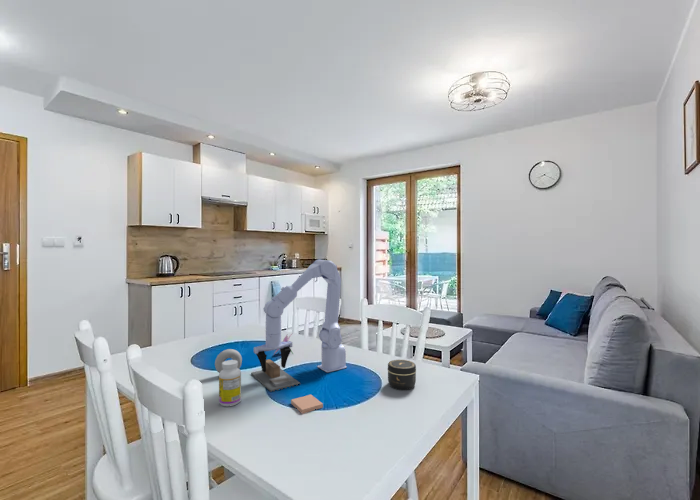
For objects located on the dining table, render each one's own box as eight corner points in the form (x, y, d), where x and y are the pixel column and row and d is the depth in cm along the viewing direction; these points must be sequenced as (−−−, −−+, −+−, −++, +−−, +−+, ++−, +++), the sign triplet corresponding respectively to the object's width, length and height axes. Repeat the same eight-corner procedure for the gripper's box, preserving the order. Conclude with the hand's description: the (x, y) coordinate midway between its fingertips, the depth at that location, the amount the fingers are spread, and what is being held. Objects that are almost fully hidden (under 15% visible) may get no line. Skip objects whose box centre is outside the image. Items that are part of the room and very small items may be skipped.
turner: (259, 372, 133) (259, 361, 133) (274, 369, 137) (274, 358, 137) (275, 386, 120) (275, 373, 120) (291, 382, 124) (291, 370, 124)
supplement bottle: (222, 398, 113) (222, 358, 113) (243, 397, 113) (243, 358, 113) (216, 407, 106) (216, 366, 106) (238, 406, 107) (238, 365, 106)
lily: (292, 350, 167) (283, 333, 167) (306, 345, 160) (296, 327, 160) (274, 364, 158) (264, 346, 158) (288, 360, 150) (277, 341, 151)
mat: (278, 368, 140) (278, 366, 140) (300, 384, 124) (300, 382, 124) (251, 374, 134) (251, 372, 134) (270, 391, 117) (270, 390, 117)
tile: (310, 394, 113) (322, 403, 106) (310, 399, 113) (322, 408, 106) (291, 399, 109) (302, 409, 102) (291, 404, 109) (302, 415, 102)
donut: (215, 379, 129) (215, 352, 129) (214, 376, 132) (214, 349, 132) (243, 374, 134) (242, 348, 134) (241, 371, 137) (240, 346, 137)
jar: (384, 388, 120) (384, 366, 120) (391, 378, 129) (391, 357, 129) (413, 392, 116) (413, 370, 116) (418, 381, 126) (418, 360, 126)
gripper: (287, 328, 137) (287, 362, 137) (250, 333, 128) (251, 369, 129) (294, 331, 131) (294, 367, 131) (257, 337, 123) (257, 375, 123)
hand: (273, 369), depth 129 cm, fingers open, 7 cm apart
